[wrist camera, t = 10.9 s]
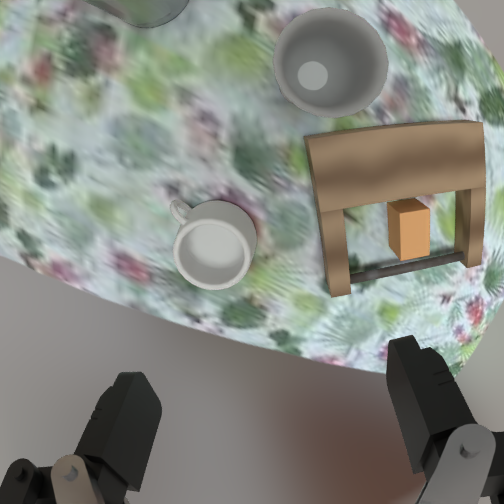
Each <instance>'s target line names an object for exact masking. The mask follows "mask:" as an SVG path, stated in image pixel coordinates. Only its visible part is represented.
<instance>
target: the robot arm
mask: <svg viewBox="0 0 504 504" xmlns="http://www.w3.org/2000/svg"><path fill="white" fill-rule="evenodd" d="M83 1H85V2H87V3H89V4H91V5H94V6H96V7H98V8H100V9H102V10H104V11H106V12H108V13H110V14H112V15H114V16H116V17H118V18H120V19H122V20H124V21H125V22H127V23H129V24H131V25H134V26H137V27H143V28H149V27H155V26H159V25H162V24H164V23H166V22H168V21H170V20H172V19H173V18H175V17H176V16H177V15H178V14H179V13H180V12H181V11H182V10H183V9H184V7H185V6H186V4H187V2H188V1H189V0H83ZM386 379H387V386H388V391H389V394H390V397H391V399H392V403H393V406H394V409H395V412H396V415H397V419H398V422H399V425H400V429H401V432H402V435H403V439H404V442H405V445H406V449H407V452H408V456H409V460H410V463H411V467H412V470H413V474H416V473H419V472H423V471H424V474H425V477H426V483H425V485H424V487H423V489H422V491H421V493H420V495H419V497H418V499H417V500H416V502H415V504H478V501H479V498H480V497H486V496H490V499H491V503H492V504H504V432H492V431H490V430H489V429H487V428H486V427H484V426H482V425H479V424H478V423H477V422H476V421H475V419H474V418H473V416H472V413H471V411H470V409H469V407H468V405H467V403H466V402H465V399H464V397H463V395H462V393H461V391H460V389H459V387H458V385H457V383H456V382H455V381H454V377H453V375H452V374H451V372H449V368H448V366H447V364H446V362H445V361H444V359H443V357H442V356H441V355H440V354H439V353H437V352H436V351H435V350H433V349H432V348H431V347H428V348H425V349H420V347H419V345H418V343H417V341H416V339H415V337H414V336H413V335H409V336H405V337H401V338H397V339H393V340H390V341H389V343H388V357H387V370H386ZM161 415H162V407H161V402H160V400H159V398H158V397H157V395H156V393H155V392H154V390H153V388H152V387H151V385H150V383H149V382H148V380H147V378H146V377H145V375H144V374H143V373H142V372H121V373H119V375H118V377H117V379H116V381H115V382H114V385H113V386H110V387H109V388H108V389H107V390H106V391H105V392H104V393H103V394H102V396H101V397H100V399H99V401H98V403H97V405H96V407H95V411H93V413H92V415H91V420H89V422H88V424H87V426H86V428H85V430H84V432H83V435H82V437H81V439H80V442H79V444H78V446H77V448H76V450H75V452H74V454H70V455H65V456H63V457H61V458H60V459H58V460H57V461H56V463H55V464H54V466H51V467H38V468H37V467H36V466H35V465H34V464H32V463H31V462H30V461H29V460H27V459H24V458H23V459H18V460H16V461H15V462H13V463H12V464H11V465H10V467H9V468H8V470H7V473H6V475H5V477H4V480H3V482H2V485H1V487H0V504H130V503H129V501H128V499H127V498H126V497H125V495H126V491H127V490H130V491H137V492H139V491H140V488H141V484H142V480H143V477H144V473H145V470H146V466H147V463H148V459H149V456H150V452H151V449H152V446H153V442H154V439H155V435H156V432H157V429H158V425H159V422H160V419H161Z"/></svg>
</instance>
